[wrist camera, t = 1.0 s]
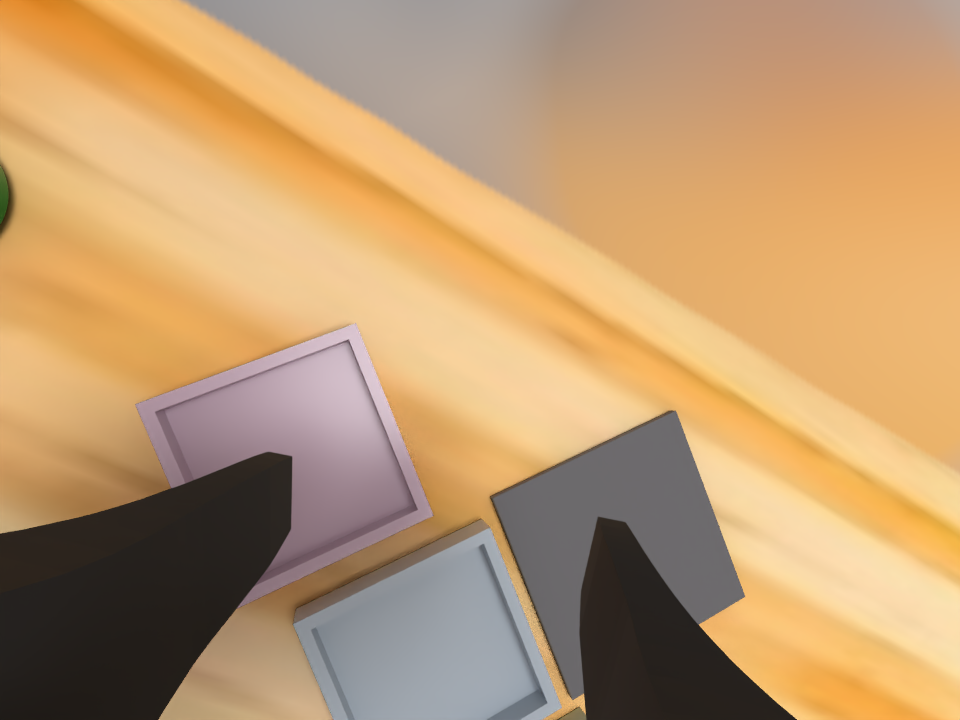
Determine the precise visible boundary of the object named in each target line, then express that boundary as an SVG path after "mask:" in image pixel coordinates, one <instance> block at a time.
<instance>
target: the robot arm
mask: <svg viewBox="0 0 960 720" xmlns="http://www.w3.org/2000/svg"><path fill="white" fill-rule="evenodd" d="M291 513H292V456H289V455H284V454H279V453H274V452H265V453H262V454H259V455H256V456H253V457H250V458H248V459H245V460H243V461H240V462H238V463H235V464H233V465H230V466H228V467H225V468H223V469H220V470H218V471H215V472H213V473H210V474H208V475H205V476H203V477H200V478H198V479H195V480H193V481H190V482H188V483H185V484H182V485H180V486H177V487H174V488H171V489H169V490H166V491H163V492H160V493H157V494H155V495H152V496H149V497H146V498H144V499H141V500H138V501H135V502H132V503H128V504H125V505H122V506H119V507H115V508H112V509H108V510H105V511H101V512H97V513H94V514H90V515H86V516H83V517H79V518H74V519H70V520H65V521H61V522H56V523H52V524H47V525H42V526H38V527H33V528H29V529H24V530H19V531H13V532H7V533H2V534H0V720H158V719H159V717H160V716H161V714H162V713H163V711H164V709H165V708H166V706H167V705H168V703H169V701H170V700H171V698H172V697H173V695H174V694H175V692H176V691H177V689H178V687H179V686H180V684H181V683H182V681H183V680H184V678H185V677H186V675H187V674H188V672H189V670H190V669H191V667H192V666H193V664H194V663H195V662H196V660H197V659H198V657H199V656H200V655H201V653H202V652H203V651H204V649H205V648H206V646H207V645H208V644H209V643H210V641H211V640H212V639H213V638H214V636H215V635H216V634H217V632H218V631H219V630H220V629H221V627H222V626H223V625H224V624H225V622H226V621H227V620H228V619H229V617H230V616H231V615H232V614H233V612H234V611H235V610H236V608H237V607H238V606H239V605H240V603H241V602H242V601H243V600H244V598H245V597H246V596H247V595H248V593H249V592H250V591H251V589H252V588H253V587H254V586H255V584H256V583H257V582H258V580H259V579H260V578H261V577H262V575H263V574H264V573H265V571H266V570H267V569H268V567H269V566H270V565H271V563H272V561H273V560H274V558H275V556H276V555H277V553H278V551H279V550H280V548H281V546H282V545H283V543H284V541H285V539H286V538H287V536H288V534H289V532H290V530H291ZM579 636H580V649H581V662H582V674H583V685H584V697H585V708H586V720H797V719H795V718H794V717H793V716H792V715H791V714H789V713H788V712H787V711H786V710H785V709H784V708H782V707H781V706H780V705H779V704H778V703H776V702H775V701H774V700H773V699H772V698H771V697H770V696H769V695H767V694H766V693H765V692H764V691H763V690H762V689H761V688H760V687H759V686H758V685H757V684H756V683H754V682H753V681H752V680H751V679H750V678H749V677H748V676H747V675H746V674H745V673H744V672H743V671H742V670H741V669H740V668H738V667H737V666H736V665H735V664H734V663H733V662H732V661H731V660H730V659H729V658H728V656H727V655H726V654H725V653H724V652H723V651H722V650H721V649H720V648H719V647H718V646H717V645H716V644H715V643H714V642H713V640H712V639H711V638H710V637H709V636H708V635H707V634H706V633H705V632H704V631H703V630H702V628H701V627H700V626H699V625H698V624H697V623H696V621H695V620H694V619H693V618H692V616H691V615H690V614H689V613H688V612H687V610H686V609H685V608H684V607H683V605H682V604H681V603H680V602H679V600H678V599H677V598H676V596H675V595H674V594H673V592H672V591H671V590H670V588H669V587H668V585H667V584H666V583H665V581H664V580H663V578H662V577H661V575H660V574H659V573H658V571H657V570H656V568H655V567H654V565H653V564H652V562H651V561H650V559H649V558H648V556H647V555H646V553H645V551H644V550H643V548H642V547H641V545H640V544H639V542H638V540H637V539H636V537H635V536H634V534H633V532H632V531H631V529H630V528H629V526H628V525H627V523H626V522H623V521H618V520H613V519H608V518H603V517H598V518H597V522H596V527H595V531H594V536H593V540H592V544H591V549H590V553H589V557H588V562H587V566H586V570H585V575H584V579H583V583H582V588H581V598H580V627H579Z"/></svg>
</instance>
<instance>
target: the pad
mask: <svg viewBox="0 0 960 720" xmlns="http://www.w3.org/2000/svg"><path fill="white" fill-rule="evenodd" d="M490 497H491V499H492V502H493V504H494V507H495V509H496V512H497V514H498V517H499V519H500V522H501V525H502V527H503V530H504V532H505V535H506V537H507V540H508V542H509V545H510V547H511V550H512V552H513V555H514V557H515V560H516V562H517V565H518V567H519V570H520V572H521V575H522V577H523V580H524V583H525V585H526V588H527V590H528V593H529V595H530V598H531V600H532V603H533V605H534V608H535V610H536V613H537V615H538V618H539V620H540V623H541V625H542V628H543V630H544V633H545V635H546V638H547V641H548V643H549V646H550V648H551V651H552V653H553V656H554V658H555V661H556V663H557V666H558V668H559V671H560V673H561V676H562V678H563V681H564V683H565V686H566V688H567V691H568V693H569V696H570V697H571V698H572V700H573V699H575V698H577V697H578V696H580V695H582V694H583V693H584V685H583V674H582V662H581V649H580V636H579V627H580V598H581V588H582V583H583V579H584V575H585V570H586V566H587V562H588V557H589V553H590V549H591V544H592V540H593V536H594V531H595V527H596V522H597V518H598V517H603V518H608V519H613V520H618V521H623V522H626V523H627V525H628V526H629V528H630V529H631V531H632V532H633V534H634V536H635V537H636V539H637V540H638V542H639V544H640V545H641V547H642V548H643V550H644V551H645V553H646V555H647V556H648V558H649V559H650V561H651V562H652V564H653V565H654V567H655V568H656V570H657V571H658V573H659V574H660V575H661V577H662V578H663V580H664V581H665V583H666V584H667V585H668V587H669V588H670V590H671V591H672V592H673V594H674V595H675V596H676V598H677V599H678V600H679V602H680V603H681V604H682V605H683V607H684V608H685V609H686V610H687V612H688V613H689V614H690V615H691V616H692V618H693V619H694V620H695V621H696V623H697V624H698V625H699V624H700V623H702V622H704V621H705V620H707V619H709V618H710V617H712V616H714V615H715V614H717V613H719V612H720V611H722V610H724V609H725V608H727V607H729V606H730V605H732V604H734V603H735V602H737V601H739V600H740V599H742V598H744V597H745V595H744V592H743V589H742V587H741V584H740V581H739V579H738V576H737V573H736V571H735V568H734V565H733V563H732V560H731V557H730V555H729V552H728V549H727V547H726V544H725V541H724V539H723V536H722V533H721V531H720V528H719V525H718V522H717V520H716V517H715V514H714V512H713V509H712V506H711V504H710V501H709V498H708V496H707V493H706V490H705V488H704V485H703V482H702V480H701V477H700V474H699V472H698V469H697V466H696V463H695V461H694V458H693V455H692V453H691V450H690V447H689V445H688V442H687V439H686V437H685V434H684V431H683V429H682V426H681V423H680V421H679V418H678V415H677V413H676V411H669V412H667V413H665V414H663V415H661V416H658V417H656V418H654V419H652V420H650V421H648V422H646V423H644V424H642V425H640V426H637V427H635V428H633V429H631V430H629V431H627V432H625V433H623V434H621V435H619V436H616V437H614V438H612V439H610V440H608V441H606V442H604V443H602V444H600V445H598V446H595V447H593V448H591V449H589V450H587V451H585V452H583V453H581V454H579V455H577V456H574V457H572V458H570V459H568V460H566V461H564V462H562V463H560V464H558V465H556V466H553V467H551V468H549V469H547V470H545V471H543V472H541V473H539V474H537V475H535V476H532V477H530V478H528V479H526V480H524V481H522V482H520V483H518V484H516V485H514V486H511V487H509V488H507V489H505V490H503V491H501V492H499V493H497V494H495V495H493V496H490Z"/></svg>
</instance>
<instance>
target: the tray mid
mask: <svg viewBox="0 0 960 720" xmlns="http://www.w3.org/2000/svg"><path fill="white" fill-rule="evenodd" d="M293 626H294V628H295V630H296V633H297V635H298V637H299V640H300V642H301V645H302V647H303V649H304V652H305V654H306V656H307V659H308V661H309V663H310V666H311V668H312V670H313V673H314V675H315V678H316V680H317V682H318V685H319V687H320V689H321V692H322V694H323V696H324V699H325V701H326V703H327V706H328V708H329V711H330V713H331V715H332V718H333V720H542V719H544V718H545V717H547V716H549V715H550V714H552V713H554V712H555V711H557V710H559V709H560V708H562V707H561V704H560V702H559V699H558V697H557V694H556V692H555V689H554V687H553V684H552V681H551V679H550V676H549V674H548V671H547V669H546V666H545V664H544V661H543V659H542V656H541V654H540V651H539V649H538V646H537V644H536V641H535V639H534V636H533V634H532V631H531V629H530V626H529V624H528V621H527V619H526V616H525V614H524V611H523V609H522V606H521V604H520V601H519V599H518V596H517V594H516V591H515V589H514V586H513V583H512V581H511V578H510V576H509V573H508V571H507V568H506V566H505V563H504V561H503V558H502V556H501V553H500V551H499V548H498V546H497V543H496V541H495V538H494V536H493V533H492V531H491V528H490V527H489V526H488V525H487V524H486V523H485V522H484V521H483V520H482V519H480V520H478V521H476V522H474V523H472V524H470V525H468V526H466V527H464V528H462V529H460V530H458V531H456V532H454V533H452V534H449V535H447V536H445V537H443V538H441V539H439V540H437V541H435V542H433V543H431V544H429V545H427V546H425V547H423V548H421V549H419V550H416V551H414V552H412V553H410V554H408V555H406V556H404V557H402V558H400V559H398V560H396V561H394V562H392V563H390V564H388V565H386V566H383V567H381V568H379V569H377V570H375V571H373V572H371V573H369V574H367V575H365V576H363V577H361V578H359V579H357V580H355V581H353V582H350V583H348V584H346V585H344V586H342V587H340V588H338V589H336V590H334V591H332V592H330V593H328V594H326V595H324V596H322V597H320V598H317V599H315V600H313V601H311V602H309V603H307V604H305V605H303V606H301V607H299V608H297V609H296V612H295V617H294V622H293Z"/></svg>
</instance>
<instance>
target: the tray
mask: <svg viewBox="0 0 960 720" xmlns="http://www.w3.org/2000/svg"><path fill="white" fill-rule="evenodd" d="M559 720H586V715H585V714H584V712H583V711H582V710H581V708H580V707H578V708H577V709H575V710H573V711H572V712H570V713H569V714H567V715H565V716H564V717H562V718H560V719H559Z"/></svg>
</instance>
